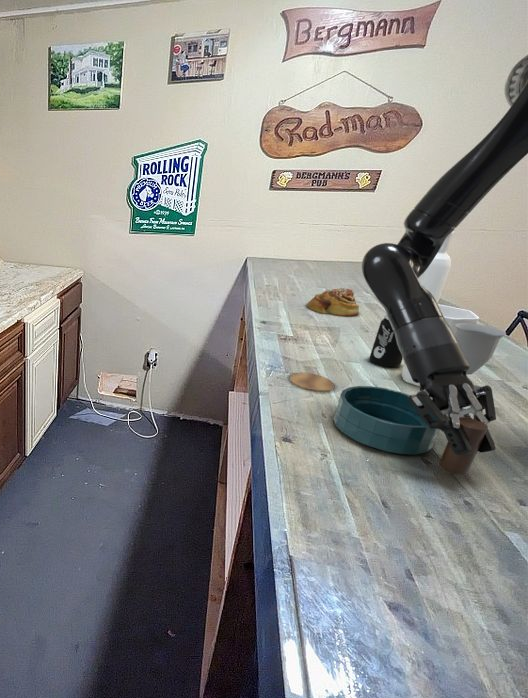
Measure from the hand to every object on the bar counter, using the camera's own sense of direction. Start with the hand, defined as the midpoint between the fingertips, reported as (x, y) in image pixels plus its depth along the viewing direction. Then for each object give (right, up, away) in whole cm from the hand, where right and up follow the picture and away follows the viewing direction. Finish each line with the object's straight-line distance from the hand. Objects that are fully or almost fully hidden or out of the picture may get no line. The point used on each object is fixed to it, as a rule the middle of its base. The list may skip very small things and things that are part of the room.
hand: (475, 452), depth 70 cm
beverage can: (+19, +13, +45) cm, 51 cm away
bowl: (-3, 0, +16) cm, 16 cm away
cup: (+21, +9, +36) cm, 43 cm away
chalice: (+16, +3, +23) cm, 28 cm away
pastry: (+31, +31, +86) cm, 97 cm away
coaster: (-5, +9, +35) cm, 36 cm away
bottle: (+46, +24, +70) cm, 88 cm away
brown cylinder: (0, -3, +4) cm, 5 cm away
